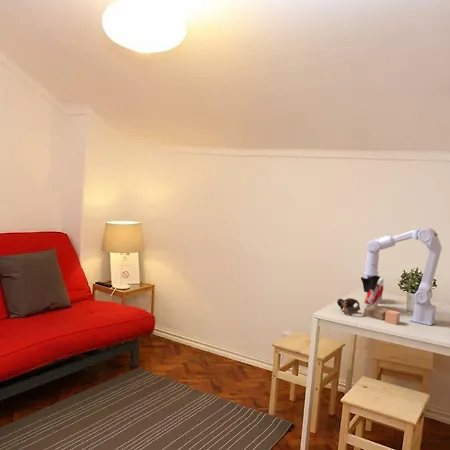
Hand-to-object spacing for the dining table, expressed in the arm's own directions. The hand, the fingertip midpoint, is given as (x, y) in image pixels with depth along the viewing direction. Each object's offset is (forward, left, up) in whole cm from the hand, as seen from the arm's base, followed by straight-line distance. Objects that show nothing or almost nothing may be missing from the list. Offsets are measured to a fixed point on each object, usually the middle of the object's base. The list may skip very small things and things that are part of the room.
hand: (369, 291), depth 237 cm
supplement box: (+5, -21, -10) cm, 24 cm away
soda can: (+2, -7, -9) cm, 11 cm away
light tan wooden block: (-7, +7, -10) cm, 14 cm away
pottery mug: (+5, +12, -10) cm, 17 cm away
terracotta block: (-16, +11, -10) cm, 22 cm away
